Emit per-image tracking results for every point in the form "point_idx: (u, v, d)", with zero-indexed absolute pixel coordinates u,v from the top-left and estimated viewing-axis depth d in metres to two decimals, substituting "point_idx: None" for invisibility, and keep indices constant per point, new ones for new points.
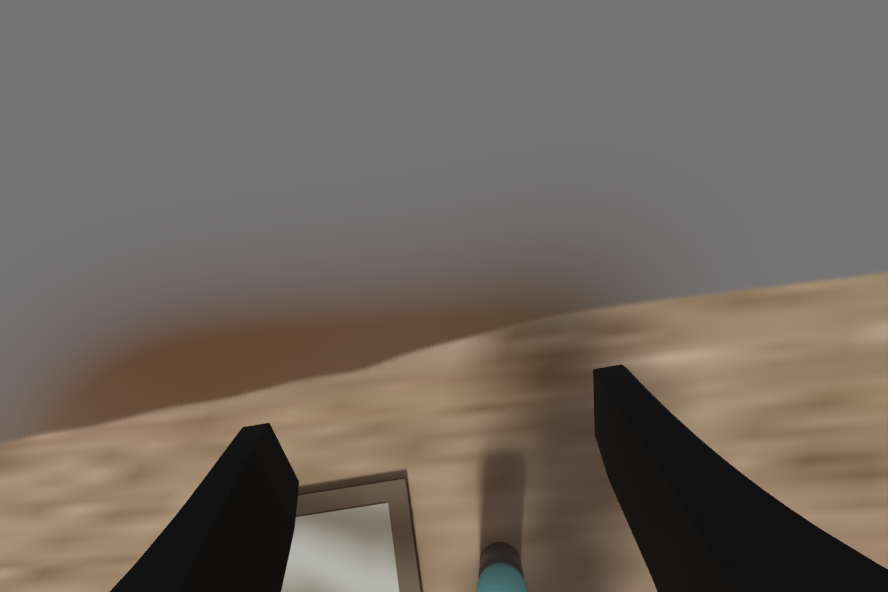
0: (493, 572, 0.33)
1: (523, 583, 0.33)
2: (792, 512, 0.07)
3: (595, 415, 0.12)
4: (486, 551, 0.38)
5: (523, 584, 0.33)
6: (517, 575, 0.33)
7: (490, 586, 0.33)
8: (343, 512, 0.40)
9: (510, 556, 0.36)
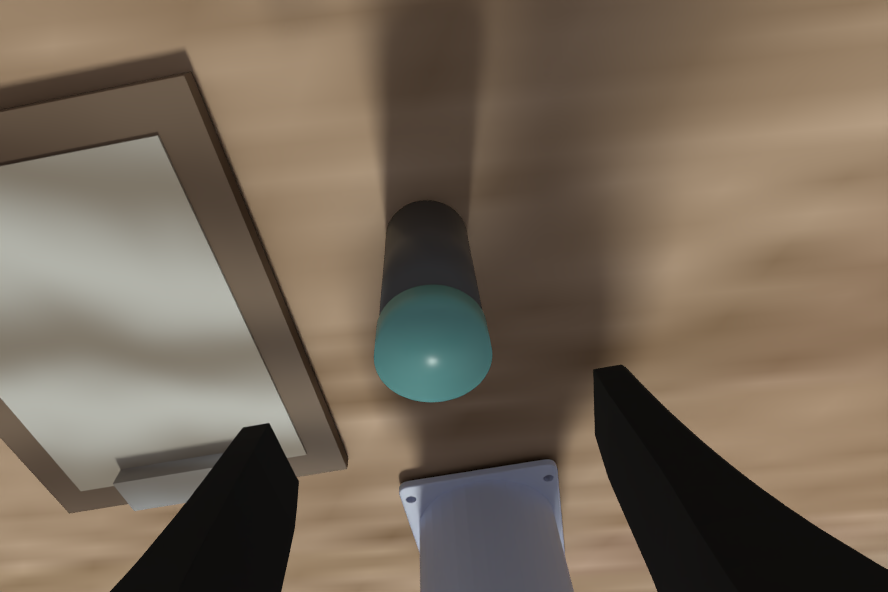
0: (412, 319, 0.13)
1: (483, 334, 0.14)
2: (792, 512, 0.07)
3: (595, 415, 0.12)
4: (397, 226, 0.18)
5: (483, 336, 0.14)
6: (470, 321, 0.13)
7: (406, 344, 0.14)
8: (56, 161, 0.17)
9: (449, 247, 0.16)
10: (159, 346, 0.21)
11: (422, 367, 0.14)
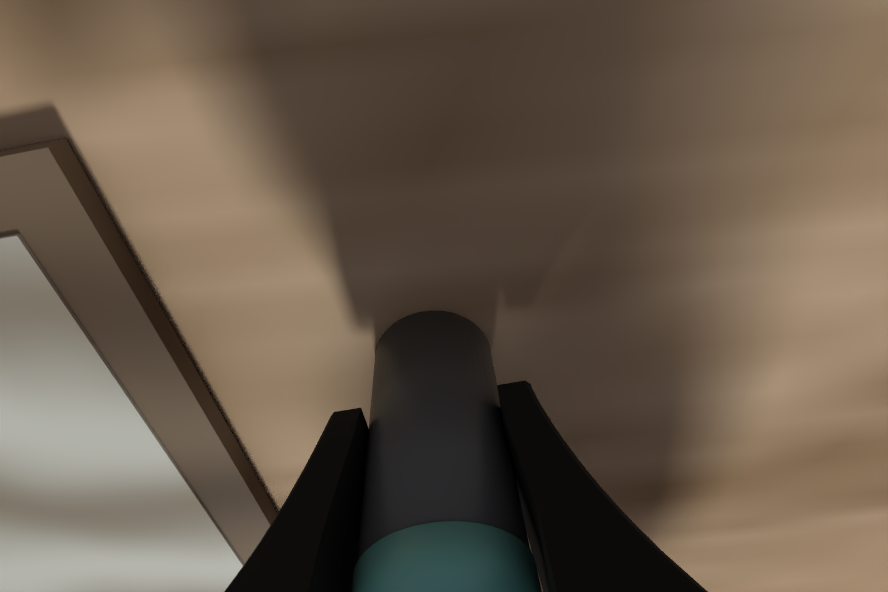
0: None
1: None
2: (640, 535, 0.07)
3: None
4: (391, 358, 0.12)
5: None
6: None
7: None
8: None
9: (471, 414, 0.10)
10: (61, 498, 0.15)
11: None
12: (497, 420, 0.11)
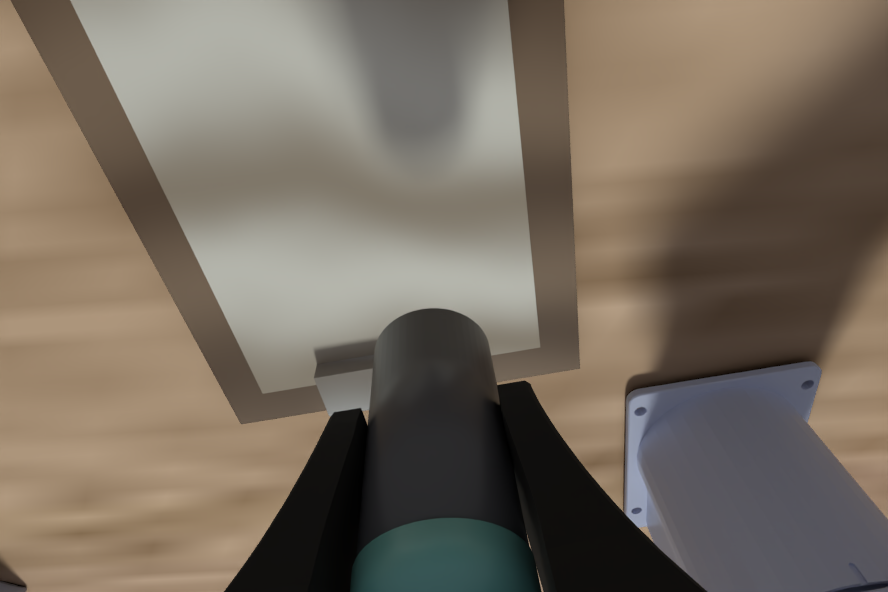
0: None
1: None
2: (640, 535, 0.07)
3: None
4: (390, 354, 0.12)
5: None
6: None
7: None
8: None
9: (471, 411, 0.10)
10: (406, 188, 0.17)
11: None
12: (497, 417, 0.11)
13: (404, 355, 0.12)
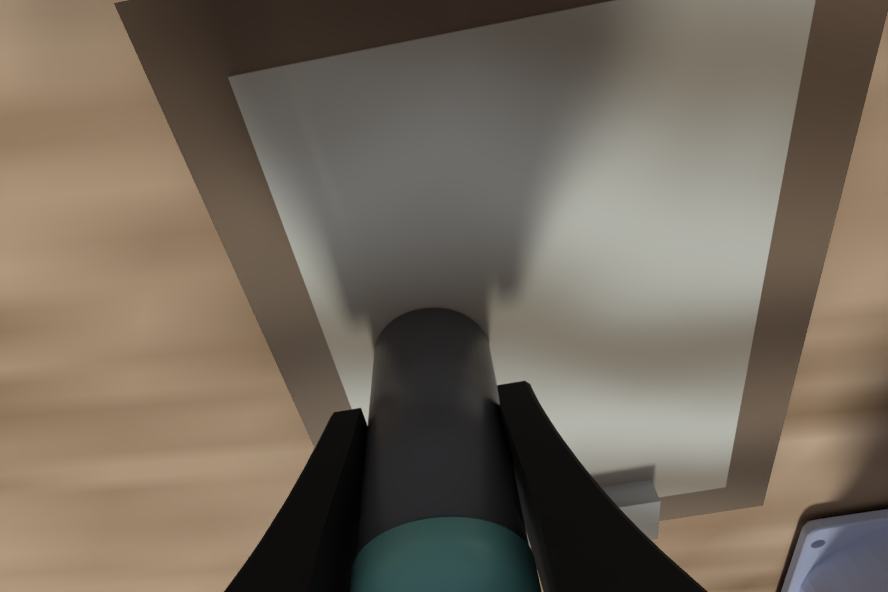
0: None
1: None
2: (640, 535, 0.07)
3: None
4: (390, 354, 0.12)
5: None
6: None
7: None
8: (625, 9, 0.10)
9: (471, 410, 0.10)
10: (612, 333, 0.14)
11: None
12: (496, 417, 0.11)
13: (404, 354, 0.12)
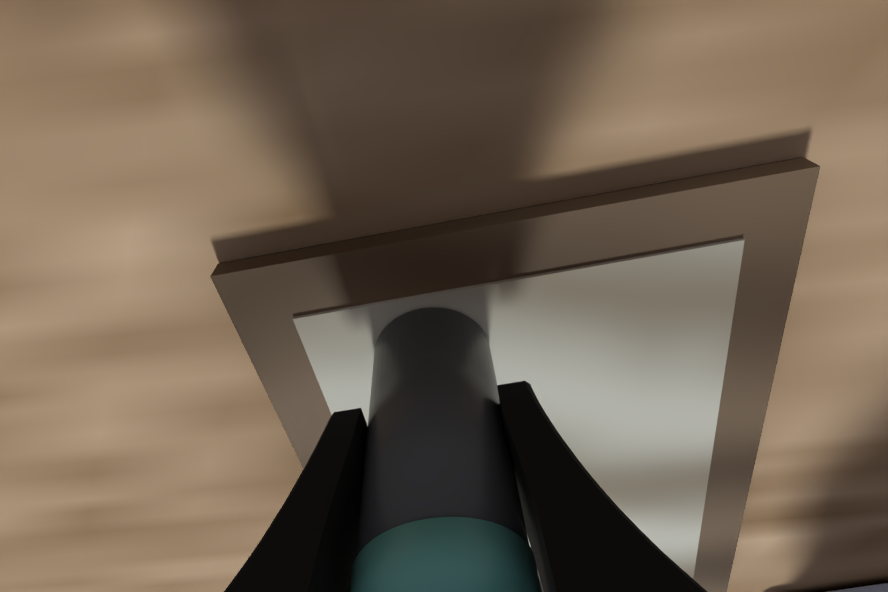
0: None
1: None
2: (640, 535, 0.07)
3: None
4: (390, 353, 0.12)
5: None
6: None
7: None
8: (595, 270, 0.13)
9: (471, 410, 0.10)
10: (593, 472, 0.17)
11: None
12: (497, 417, 0.11)
13: (404, 354, 0.12)
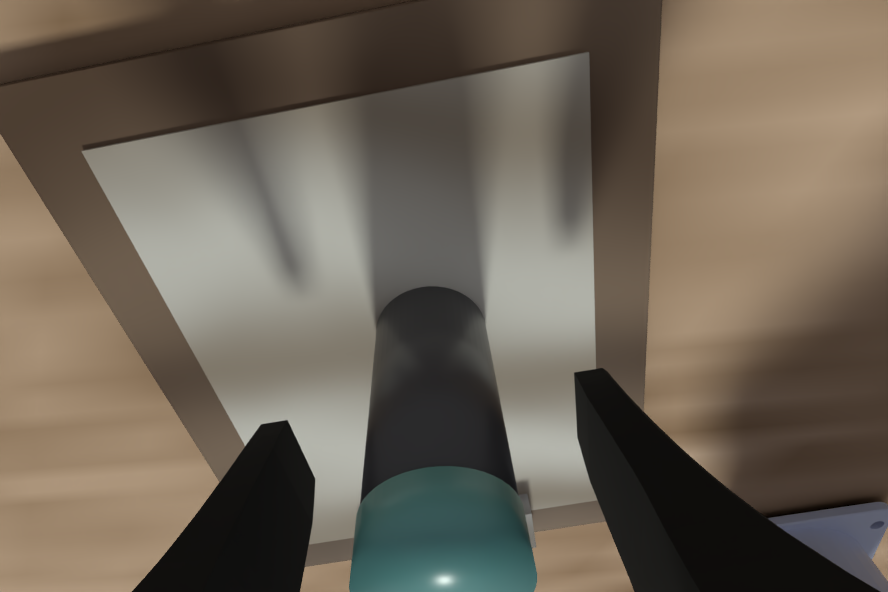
0: (411, 541, 0.08)
1: (525, 556, 0.09)
2: (761, 517, 0.07)
3: (577, 418, 0.12)
4: (391, 328, 0.13)
5: (525, 558, 0.09)
6: (505, 542, 0.08)
7: (400, 571, 0.09)
8: (424, 92, 0.11)
9: (466, 377, 0.11)
10: None
11: None
12: (490, 384, 0.12)
13: (404, 328, 0.13)
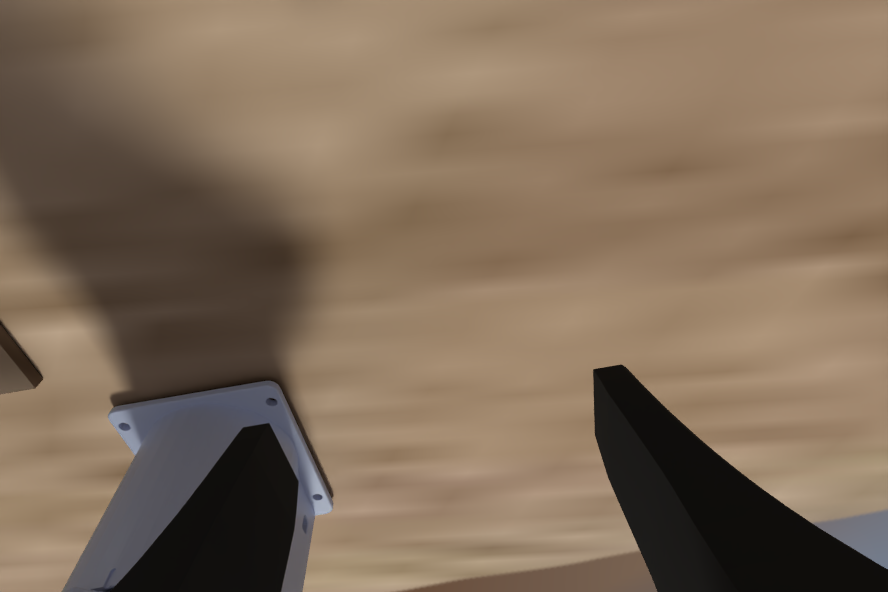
0: None
1: None
2: (792, 512, 0.07)
3: (595, 415, 0.12)
4: None
5: None
6: None
7: None
8: None
9: None
10: None
11: None
12: None
13: None
